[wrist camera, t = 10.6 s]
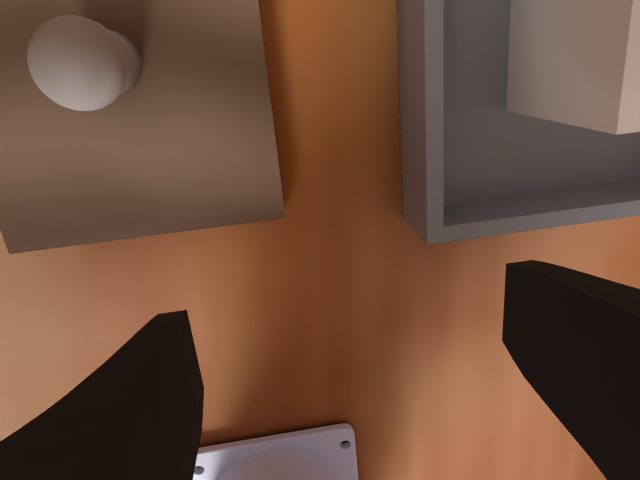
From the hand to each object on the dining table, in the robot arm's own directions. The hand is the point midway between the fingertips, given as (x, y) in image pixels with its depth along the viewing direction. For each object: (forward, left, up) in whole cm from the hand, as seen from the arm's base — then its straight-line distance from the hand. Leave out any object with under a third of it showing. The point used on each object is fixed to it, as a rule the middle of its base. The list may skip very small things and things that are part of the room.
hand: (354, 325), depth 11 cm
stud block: (+6, +6, -9) cm, 13 cm away
